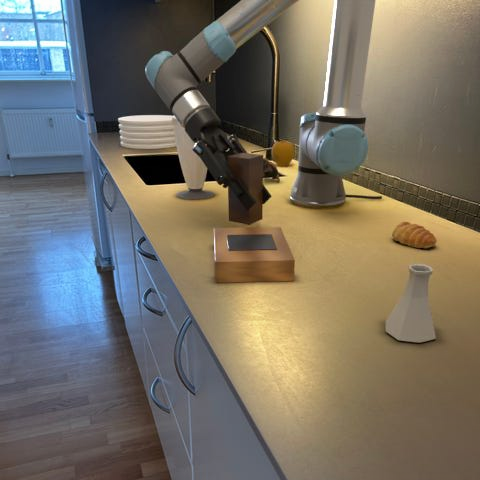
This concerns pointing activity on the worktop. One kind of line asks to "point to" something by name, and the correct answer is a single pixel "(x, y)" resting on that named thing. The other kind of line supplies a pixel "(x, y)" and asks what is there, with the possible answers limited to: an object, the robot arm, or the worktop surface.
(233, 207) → the box
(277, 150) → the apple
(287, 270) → the wooden slab
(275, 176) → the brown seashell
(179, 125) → the cup
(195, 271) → the worktop surface
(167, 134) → the plate stack
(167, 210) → the worktop surface
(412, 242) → the pastry
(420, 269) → the flask
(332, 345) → the worktop surface
